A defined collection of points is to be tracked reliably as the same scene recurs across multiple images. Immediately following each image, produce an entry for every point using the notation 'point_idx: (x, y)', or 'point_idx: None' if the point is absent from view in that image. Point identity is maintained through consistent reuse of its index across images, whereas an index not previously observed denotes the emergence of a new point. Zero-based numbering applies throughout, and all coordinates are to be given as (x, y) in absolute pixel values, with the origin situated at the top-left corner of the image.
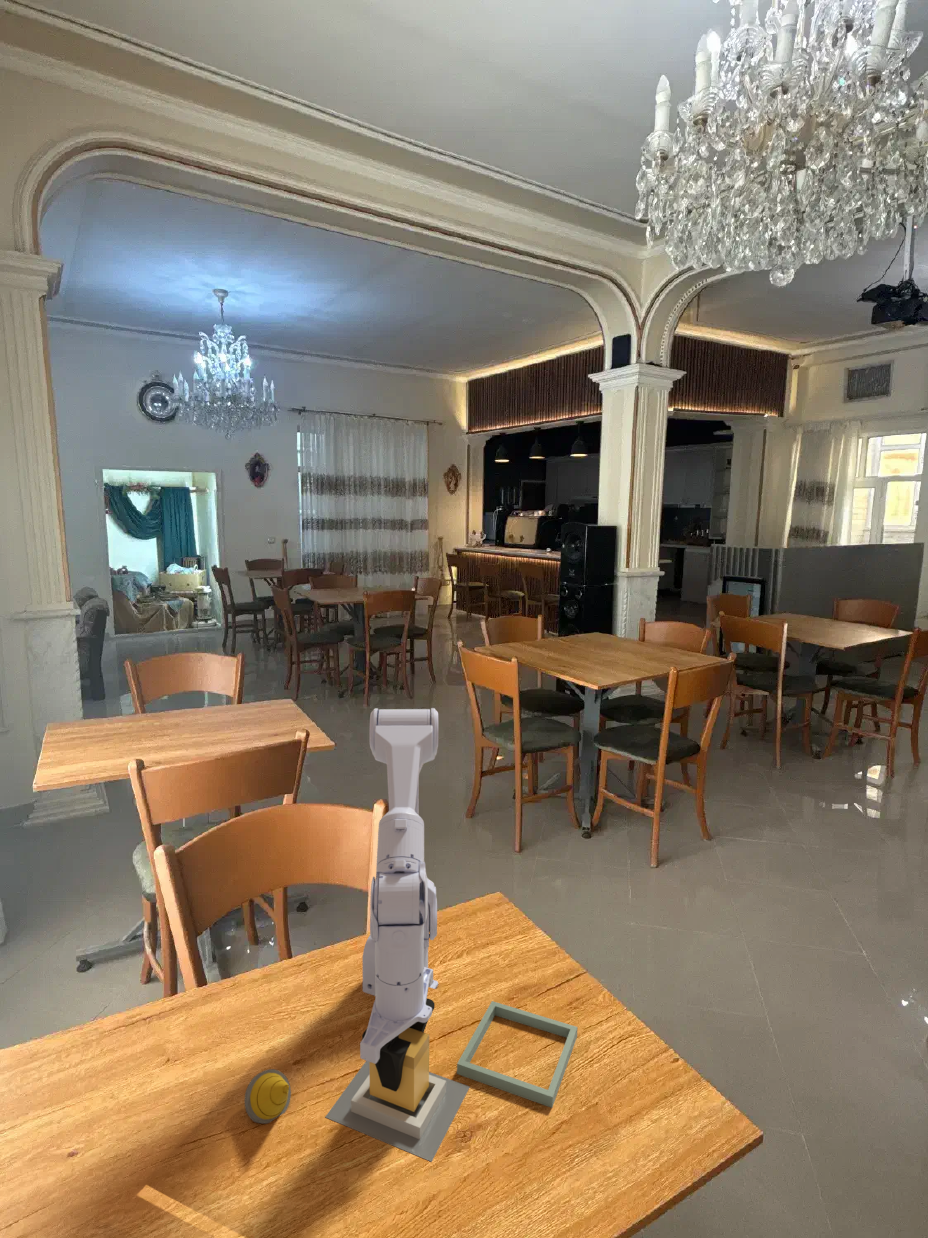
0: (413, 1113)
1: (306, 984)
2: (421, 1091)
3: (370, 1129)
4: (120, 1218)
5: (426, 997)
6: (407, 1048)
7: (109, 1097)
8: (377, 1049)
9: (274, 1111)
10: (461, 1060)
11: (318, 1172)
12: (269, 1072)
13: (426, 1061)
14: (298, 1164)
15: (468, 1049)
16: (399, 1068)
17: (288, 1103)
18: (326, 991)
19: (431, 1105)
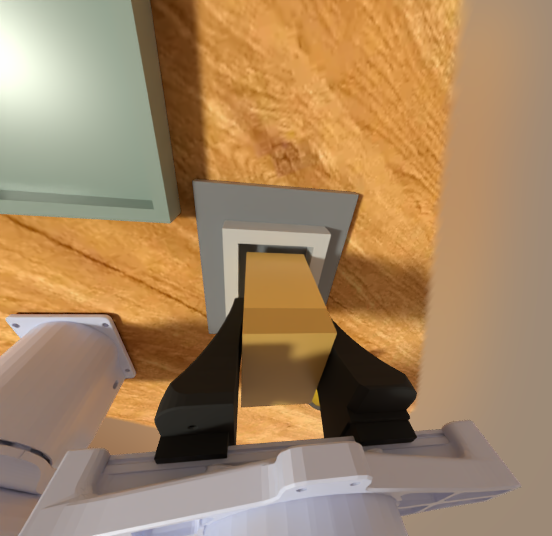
0: (284, 252)
1: (156, 411)
2: (277, 260)
3: (323, 289)
4: (412, 384)
5: (208, 494)
6: (391, 386)
7: None
8: (504, 472)
9: None
10: (157, 217)
11: (371, 307)
12: (313, 404)
13: (258, 287)
14: (364, 324)
15: (118, 213)
16: (345, 336)
17: None
18: (151, 397)
19: (284, 233)
